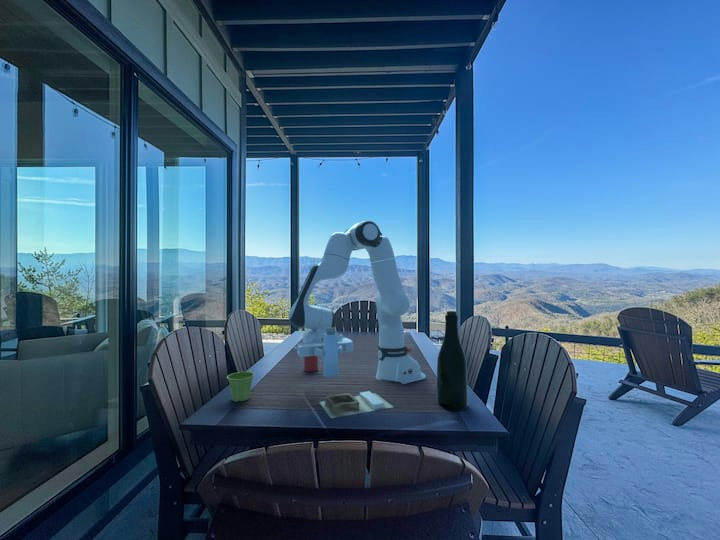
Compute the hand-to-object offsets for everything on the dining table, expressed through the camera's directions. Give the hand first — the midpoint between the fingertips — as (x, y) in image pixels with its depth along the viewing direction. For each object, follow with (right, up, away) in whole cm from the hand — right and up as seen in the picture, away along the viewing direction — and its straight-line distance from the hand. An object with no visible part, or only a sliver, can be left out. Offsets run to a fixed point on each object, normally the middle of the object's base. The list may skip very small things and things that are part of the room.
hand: (331, 352), depth 108 cm
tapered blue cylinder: (0, -8, +1) cm, 8 cm away
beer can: (-14, -21, +46) cm, 53 cm away
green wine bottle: (+42, -20, +4) cm, 46 cm away
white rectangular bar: (+14, -18, +4) cm, 23 cm away
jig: (+8, -20, +2) cm, 21 cm away
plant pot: (-35, -20, +10) cm, 41 cm away
